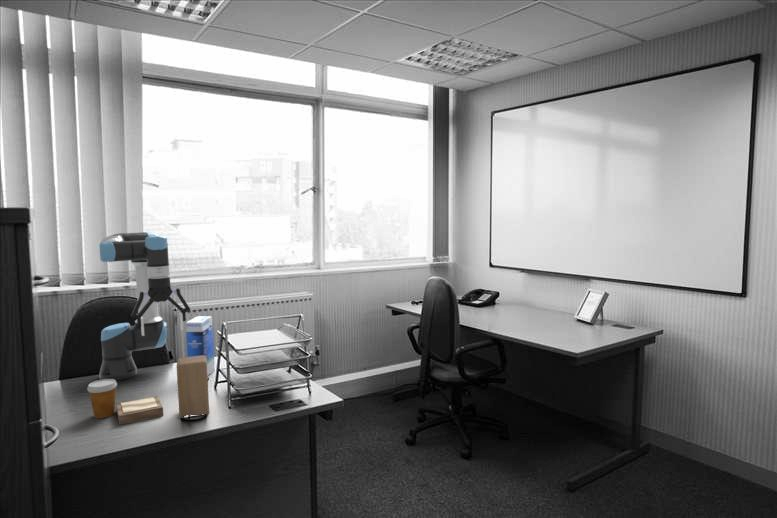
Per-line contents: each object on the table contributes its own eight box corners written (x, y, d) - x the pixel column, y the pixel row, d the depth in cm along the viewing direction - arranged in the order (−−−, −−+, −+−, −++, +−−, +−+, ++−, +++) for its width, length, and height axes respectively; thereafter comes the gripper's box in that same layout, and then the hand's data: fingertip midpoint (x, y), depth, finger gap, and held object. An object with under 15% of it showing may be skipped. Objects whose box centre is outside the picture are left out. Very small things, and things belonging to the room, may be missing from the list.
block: (180, 409, 185) (177, 357, 183) (208, 405, 189) (206, 354, 187) (179, 420, 176) (176, 364, 174) (209, 415, 179) (206, 361, 178)
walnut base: (116, 411, 185) (115, 402, 184) (157, 403, 192) (157, 395, 192) (119, 424, 173) (118, 415, 173) (163, 415, 180) (162, 406, 180)
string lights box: (199, 370, 232) (196, 316, 230) (215, 370, 232) (213, 315, 230) (188, 379, 219) (184, 322, 217) (205, 379, 219) (202, 322, 217)
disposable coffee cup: (124, 409, 186) (122, 378, 185) (109, 420, 177) (107, 387, 176) (99, 409, 187) (97, 378, 186) (83, 420, 177) (80, 387, 176)
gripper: (122, 281, 178) (126, 339, 180) (195, 275, 190) (199, 329, 193) (120, 279, 184) (125, 335, 186) (192, 273, 197) (195, 325, 199)
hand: (162, 332), depth 189 cm, fingers open, 13 cm apart
